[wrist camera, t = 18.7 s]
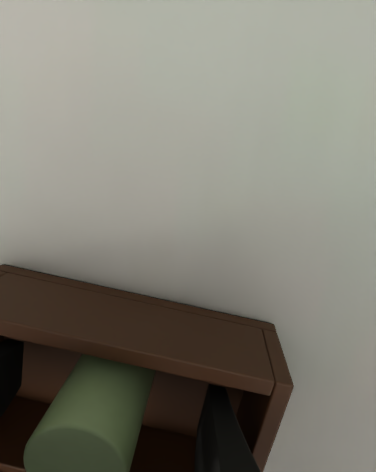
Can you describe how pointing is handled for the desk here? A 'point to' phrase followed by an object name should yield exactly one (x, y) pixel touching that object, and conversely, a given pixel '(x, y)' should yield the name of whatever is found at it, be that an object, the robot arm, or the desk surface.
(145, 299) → the wooden drawer
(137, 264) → the desk surface
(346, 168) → the desk surface
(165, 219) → the desk surface
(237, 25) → the desk surface
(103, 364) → the coin roll
